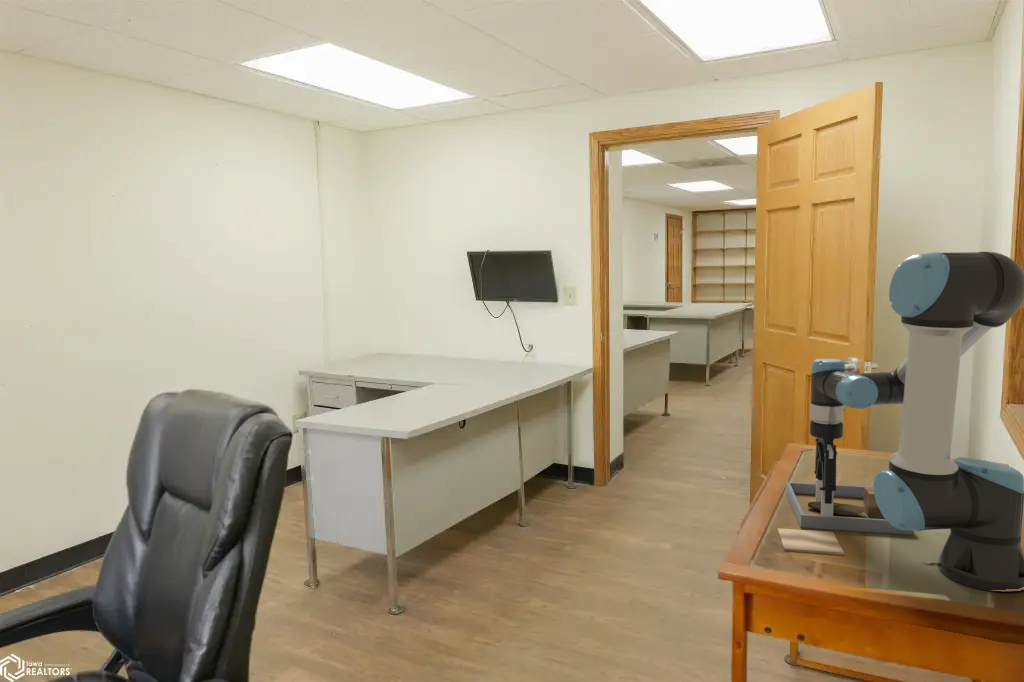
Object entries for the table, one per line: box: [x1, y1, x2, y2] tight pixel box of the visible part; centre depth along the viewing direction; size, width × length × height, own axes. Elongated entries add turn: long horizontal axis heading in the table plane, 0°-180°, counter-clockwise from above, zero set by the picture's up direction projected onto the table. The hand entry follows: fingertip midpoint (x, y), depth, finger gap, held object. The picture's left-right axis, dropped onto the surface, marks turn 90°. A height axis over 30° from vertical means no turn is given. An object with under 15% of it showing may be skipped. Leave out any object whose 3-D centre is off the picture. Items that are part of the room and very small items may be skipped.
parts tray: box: [785, 481, 914, 536], centre depth 172 cm, size 26×24×3 cm
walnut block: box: [862, 487, 885, 519], centre depth 170 cm, size 5×5×6 cm
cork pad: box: [777, 527, 845, 556], centre depth 154 cm, size 12×12×1 cm
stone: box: [807, 501, 865, 516], centre depth 171 cm, size 13×5×2 cm, turn 60°
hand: (824, 509), depth 173 cm, fingers open, 7 cm apart
